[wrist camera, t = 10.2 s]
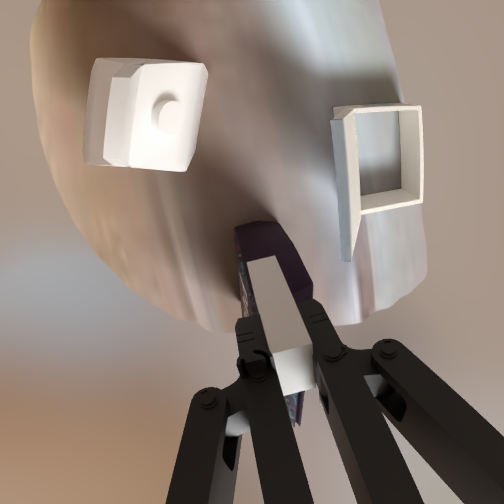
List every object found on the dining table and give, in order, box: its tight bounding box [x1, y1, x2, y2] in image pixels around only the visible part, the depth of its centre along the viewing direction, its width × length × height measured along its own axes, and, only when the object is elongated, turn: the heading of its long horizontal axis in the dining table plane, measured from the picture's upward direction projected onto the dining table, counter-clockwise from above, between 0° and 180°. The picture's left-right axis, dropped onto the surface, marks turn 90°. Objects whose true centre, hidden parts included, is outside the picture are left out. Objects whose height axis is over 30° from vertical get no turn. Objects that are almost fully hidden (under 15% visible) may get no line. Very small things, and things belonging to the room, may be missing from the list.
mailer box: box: [333, 103, 424, 215], centre depth 47 cm, size 16×13×6 cm
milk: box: [83, 58, 208, 172], centre depth 30 cm, size 12×12×26 cm
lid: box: [330, 109, 361, 262], centre depth 38 cm, size 16×13×1 cm
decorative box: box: [234, 221, 313, 427], centre depth 44 cm, size 8×16×28 cm, turn 3°
